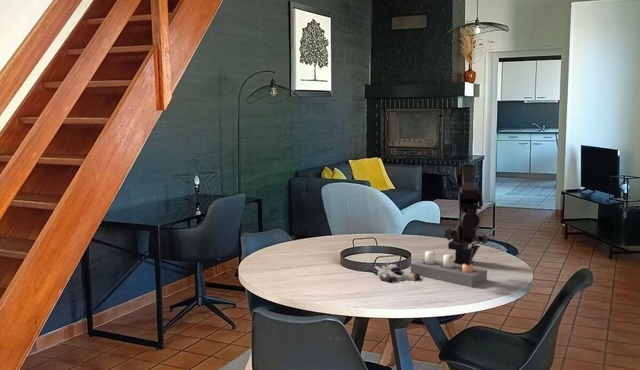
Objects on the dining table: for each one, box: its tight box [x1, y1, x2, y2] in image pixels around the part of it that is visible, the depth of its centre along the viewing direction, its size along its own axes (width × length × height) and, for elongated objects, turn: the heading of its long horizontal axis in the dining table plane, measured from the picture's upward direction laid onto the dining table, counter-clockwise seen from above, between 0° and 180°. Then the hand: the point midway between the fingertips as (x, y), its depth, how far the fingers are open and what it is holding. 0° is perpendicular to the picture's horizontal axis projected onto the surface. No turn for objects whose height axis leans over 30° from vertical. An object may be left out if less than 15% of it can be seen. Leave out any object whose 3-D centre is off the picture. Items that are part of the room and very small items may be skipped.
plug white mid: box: [442, 253, 455, 269], centre depth 231 cm, size 4×4×5 cm
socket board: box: [410, 258, 488, 288], centre depth 231 cm, size 11×26×4 cm, turn 47°
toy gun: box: [369, 261, 421, 283], centre depth 235 cm, size 3×20×15 cm
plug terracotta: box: [461, 263, 474, 273], centre depth 226 cm, size 4×4×5 cm
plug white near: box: [424, 250, 436, 265], centre depth 236 cm, size 4×4×5 cm
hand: (467, 264), depth 225 cm, fingers closed, pressing on plug terracotta
